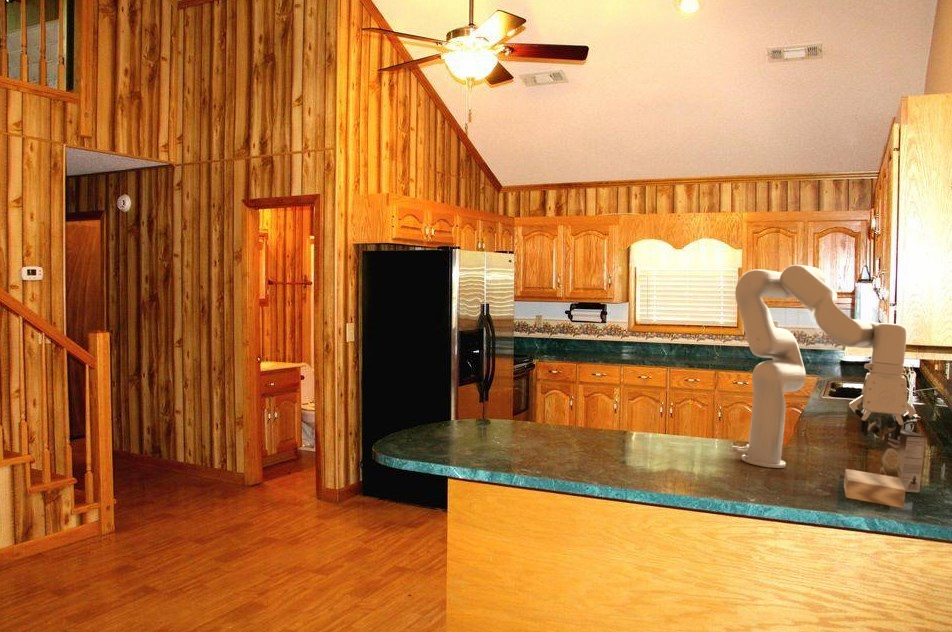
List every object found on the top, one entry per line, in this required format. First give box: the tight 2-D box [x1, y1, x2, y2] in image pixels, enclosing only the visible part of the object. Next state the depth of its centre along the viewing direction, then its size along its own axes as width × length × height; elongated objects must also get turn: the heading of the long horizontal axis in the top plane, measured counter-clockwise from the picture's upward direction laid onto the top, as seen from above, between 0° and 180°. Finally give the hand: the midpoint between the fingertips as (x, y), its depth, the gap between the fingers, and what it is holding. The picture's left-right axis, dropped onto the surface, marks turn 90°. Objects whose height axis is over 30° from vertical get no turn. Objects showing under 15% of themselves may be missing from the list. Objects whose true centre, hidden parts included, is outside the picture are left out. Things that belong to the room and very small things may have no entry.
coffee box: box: [879, 427, 927, 493], centre depth 200 cm, size 9×6×16 cm
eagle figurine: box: [858, 413, 896, 443], centre depth 190 cm, size 8×7×9 cm
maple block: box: [843, 468, 906, 509], centre depth 188 cm, size 13×15×5 cm
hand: (879, 436), depth 188 cm, fingers closed on eagle figurine, 6 cm apart
